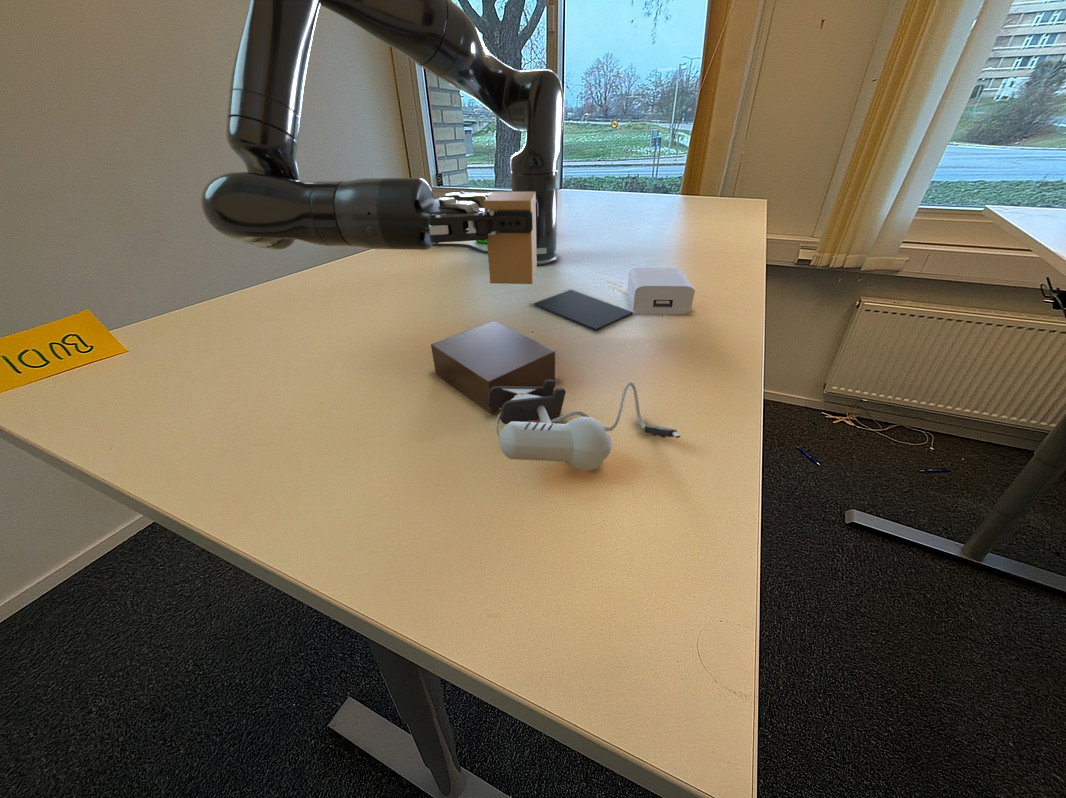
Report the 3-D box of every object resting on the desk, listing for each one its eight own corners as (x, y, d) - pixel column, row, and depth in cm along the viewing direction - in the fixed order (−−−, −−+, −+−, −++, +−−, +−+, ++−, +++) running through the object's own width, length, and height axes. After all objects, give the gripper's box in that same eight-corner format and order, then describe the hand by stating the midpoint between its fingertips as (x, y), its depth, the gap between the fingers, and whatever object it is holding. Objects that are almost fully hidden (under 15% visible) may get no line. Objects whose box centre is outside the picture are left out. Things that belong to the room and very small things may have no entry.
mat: (534, 305, 75) (534, 303, 75) (570, 291, 80) (570, 289, 80) (595, 331, 66) (596, 329, 66) (632, 314, 71) (632, 312, 71)
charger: (672, 282, 83) (690, 314, 71) (623, 281, 84) (632, 314, 71) (676, 257, 80) (695, 286, 68) (626, 256, 81) (635, 285, 69)
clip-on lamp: (631, 422, 53) (483, 412, 48) (647, 374, 50) (491, 359, 45) (678, 485, 43) (496, 480, 38) (701, 430, 40) (507, 417, 35)
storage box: (435, 374, 57) (430, 344, 54) (496, 349, 62) (494, 320, 60) (491, 415, 49) (488, 381, 47) (555, 382, 55) (555, 350, 52)
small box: (490, 283, 51) (483, 200, 46) (497, 269, 55) (492, 191, 50) (532, 284, 51) (530, 200, 45) (536, 270, 55) (535, 191, 49)
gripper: (352, 190, 42) (527, 190, 41) (403, 169, 54) (540, 168, 52) (370, 267, 47) (529, 270, 45) (414, 232, 58) (541, 233, 57)
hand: (534, 215), depth 49 cm, fingers closed on small box, 5 cm apart
